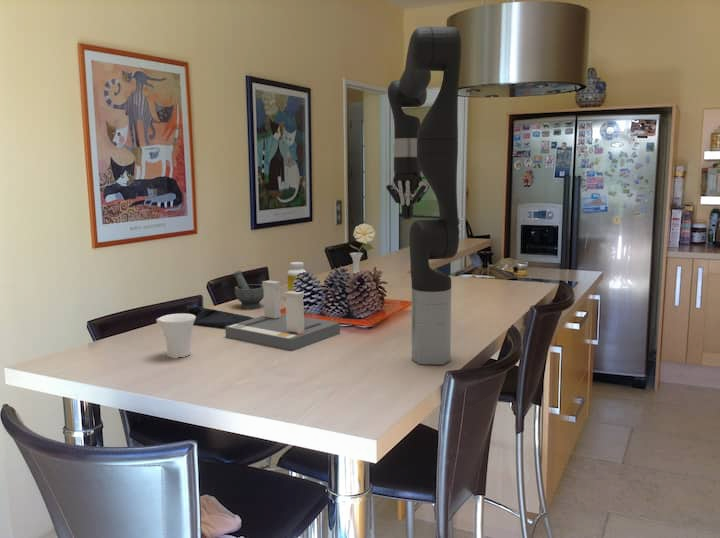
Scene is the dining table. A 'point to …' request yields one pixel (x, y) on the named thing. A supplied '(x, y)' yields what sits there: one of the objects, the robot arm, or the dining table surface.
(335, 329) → the grey flat block
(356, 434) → the dining table surface
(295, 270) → the supplement bottle
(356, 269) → the flower in vase
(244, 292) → the mortar and pestle
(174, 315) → the cup
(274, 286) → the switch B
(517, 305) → the dining table surface
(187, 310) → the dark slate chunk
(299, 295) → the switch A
